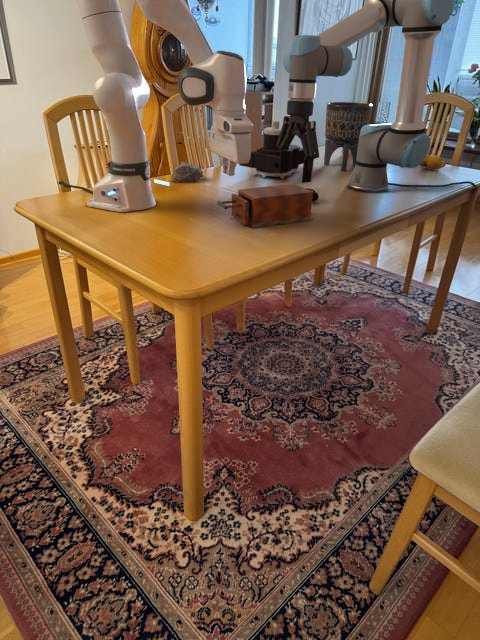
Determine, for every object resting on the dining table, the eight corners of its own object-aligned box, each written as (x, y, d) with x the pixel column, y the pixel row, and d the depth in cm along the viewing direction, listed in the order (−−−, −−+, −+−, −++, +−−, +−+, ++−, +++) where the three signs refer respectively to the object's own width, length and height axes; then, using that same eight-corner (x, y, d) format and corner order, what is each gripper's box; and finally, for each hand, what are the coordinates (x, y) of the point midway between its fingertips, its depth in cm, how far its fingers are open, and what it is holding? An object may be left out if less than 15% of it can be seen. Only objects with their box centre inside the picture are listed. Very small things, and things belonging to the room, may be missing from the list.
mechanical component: (240, 120, 182) (283, 115, 202) (239, 174, 192) (280, 164, 212) (283, 126, 170) (325, 120, 190) (280, 183, 180) (320, 171, 200)
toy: (420, 162, 205) (414, 155, 217) (422, 176, 207) (416, 168, 220) (446, 154, 201) (438, 147, 214) (448, 168, 204) (440, 161, 217)
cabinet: (252, 227, 134) (253, 198, 129) (237, 217, 142) (238, 189, 138) (310, 219, 141) (313, 191, 137) (292, 210, 149) (294, 183, 145)
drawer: (226, 227, 131) (226, 204, 127) (214, 217, 138) (214, 195, 135) (299, 217, 140) (301, 195, 136) (284, 209, 147) (285, 188, 144)
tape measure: (298, 204, 156) (299, 193, 154) (293, 198, 161) (294, 187, 159) (317, 203, 156) (319, 192, 155) (312, 198, 162) (313, 187, 160)
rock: (196, 175, 189) (195, 159, 185) (208, 179, 183) (208, 163, 180) (168, 180, 181) (167, 163, 178) (181, 184, 176) (180, 167, 172)
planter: (313, 167, 208) (319, 103, 195) (331, 160, 222) (338, 101, 209) (353, 173, 199) (362, 107, 185) (369, 166, 213) (379, 104, 199)
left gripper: (203, 117, 128) (204, 167, 135) (233, 126, 112) (233, 183, 119) (224, 116, 131) (224, 166, 138) (256, 125, 115) (254, 181, 122)
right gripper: (268, 96, 135) (264, 169, 146) (314, 103, 116) (305, 187, 127) (289, 96, 138) (284, 168, 149) (338, 103, 119) (328, 185, 129)
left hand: (228, 174), depth 128 cm, fingers closed
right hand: (294, 177), depth 138 cm, fingers open, 13 cm apart
